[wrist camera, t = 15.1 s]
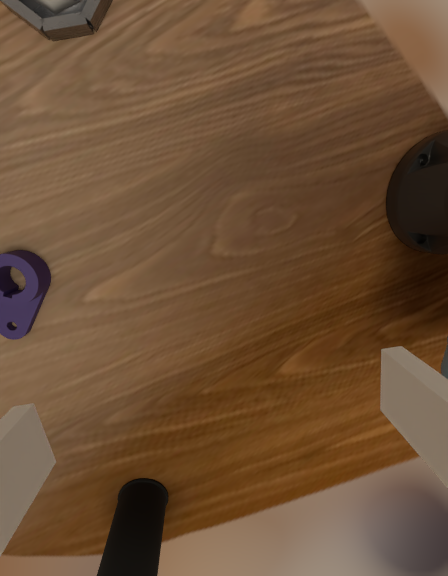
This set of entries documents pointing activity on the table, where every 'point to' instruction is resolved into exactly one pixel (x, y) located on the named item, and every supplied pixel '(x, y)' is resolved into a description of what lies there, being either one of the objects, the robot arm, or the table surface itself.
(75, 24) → the octagonal metal scoop
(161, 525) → the aerosol can
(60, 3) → the flask
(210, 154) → the table surface
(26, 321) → the lever
